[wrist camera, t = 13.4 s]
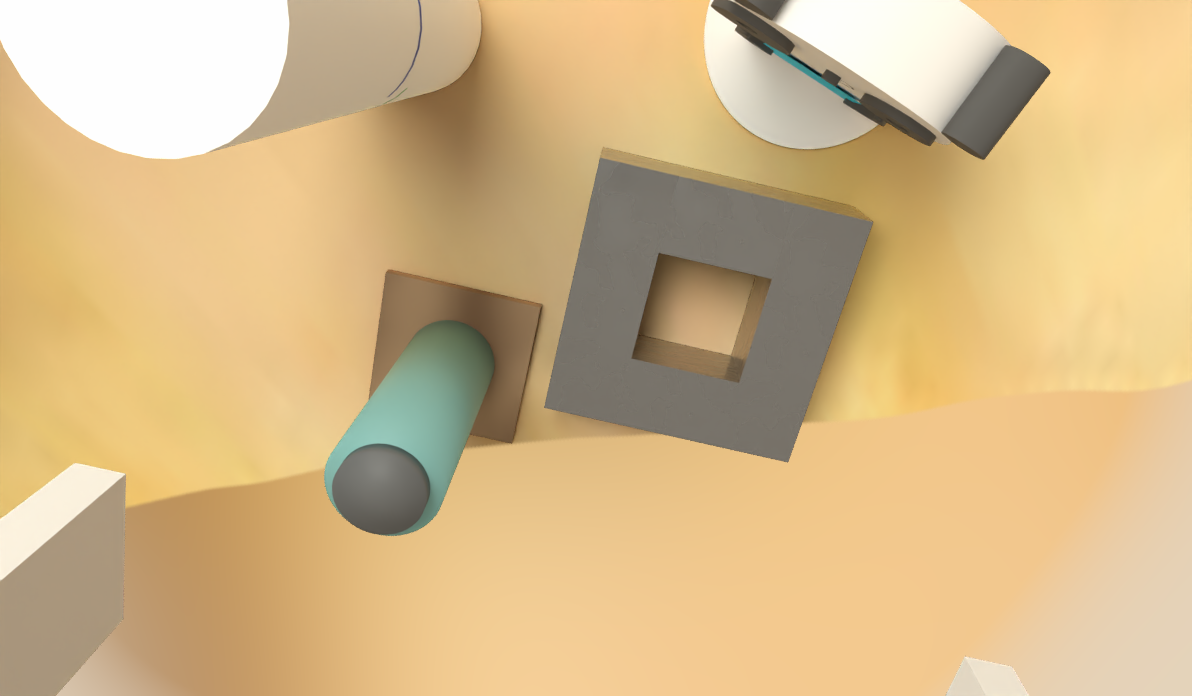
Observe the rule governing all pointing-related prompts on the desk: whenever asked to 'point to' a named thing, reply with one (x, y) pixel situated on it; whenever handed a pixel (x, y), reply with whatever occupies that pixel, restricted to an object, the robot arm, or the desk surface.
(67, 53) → the cylindrical container
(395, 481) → the teal cylinder
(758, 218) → the housing
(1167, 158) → the desk surface
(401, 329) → the pad
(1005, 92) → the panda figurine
